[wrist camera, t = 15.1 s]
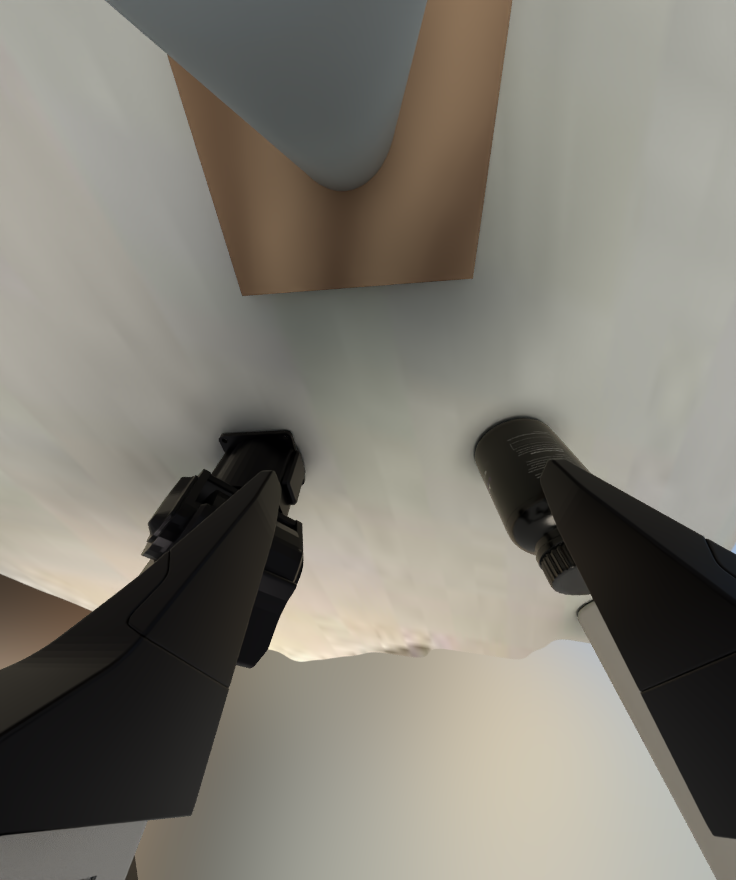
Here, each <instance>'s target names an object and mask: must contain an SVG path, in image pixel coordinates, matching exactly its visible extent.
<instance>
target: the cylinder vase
mask: <svg viewBox="0 0 736 880" xmlns="http://www.w3.org/2000/svg"><path fill="white" fill-rule="evenodd" d="M578 620H579V622H580V624H581V626H582V628H583V630H584V632H585V633H586V635H587V637H588V639H589V641H590V643H591V645H592V647H593V648H594V650H595V652H596V654H597V656H598V658H599V660H600V662H601V663H602V665H603V667H604V669H605V671H606V673H607V674H608V677H609V678H610V680H611V682H612V684H613V686H614V688H615V690H616V692H617V693H618V695H619V697H620V699H621V701H622V703H623V705H624V707H625V708H626V710H627V712H628V714H629V716H630V718H631V720H632V722H633V723H634V725H635V727H636V729H637V731H638V733H639V735H640V737H641V738H642V740H643V742H644V744H645V746H646V748H647V750H648V751H649V753H650V755H651V757H652V759H653V761H654V763H655V765H656V767H657V768H658V770H659V772H660V774H661V776H662V778H663V779H664V782H665V783H666V785H667V787H668V789H669V791H670V793H671V795H672V796H673V798H674V800H675V802H676V804H677V806H678V808H679V810H680V812H681V813H682V815H683V817H684V819H685V821H686V823H687V825H688V827H689V828H690V830H691V832H692V834H693V836H694V838H695V840H696V841H697V843H698V845H699V847H700V849H701V851H702V853H703V855H704V857H705V858H706V860H707V862H708V864H709V866H710V868H711V870H712V872H713V873H714V875H715V877H716V879H717V880H736V839H729V838H722V837H715V836H713V835H712V833H711V831H710V830H709V828H708V826H707V825H706V823H705V821H704V819H703V817H702V815H701V813H700V811H699V809H698V807H697V805H696V803H695V801H694V799H693V797H692V795H691V793H690V791H689V789H688V787H687V785H686V783H685V781H684V779H683V777H682V775H681V773H680V771H679V769H678V767H677V765H676V763H675V761H674V759H673V757H672V755H671V753H670V752H669V750H668V748H667V746H666V744H665V742H664V740H663V738H662V736H661V734H660V732H659V730H658V728H657V726H656V724H655V722H654V720H653V718H652V716H651V714H650V712H649V710H648V708H647V706H646V704H645V702H644V700H643V698H642V696H641V694H640V692H641V691H639V689H638V687H637V685H636V683H635V681H634V679H633V678H632V676H631V674H630V672H629V670H628V668H627V666H626V664H625V662H624V660H623V658H622V656H621V654H620V652H619V650H618V648H617V646H616V644H615V642H614V640H613V638H612V636H611V634H610V632H609V630H608V628H607V626H606V624H605V622H604V620H603V618H602V616H601V614H600V612H599V610H598V608H597V606H596V604H595V602H594V601H593V602H591V603H589V604H587V605H585V606H584V607H583V608H582V609H581V610H580V611H579V613H578Z"/></svg>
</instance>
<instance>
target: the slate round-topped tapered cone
mask: <svg viewBox="0 0 736 880" xmlns="http://www.w3.org/2000/svg"><path fill="white" fill-rule="evenodd" d="M105 1H106V2H108V3H109V4H110V5H111V6H112V7H113V8H114V9H116V10H117V11H118V12H119V13H120V14H121V15H123V16H124V17H125V18H126V19H127V20H128V21H130V22H131V23H132V24H133V25H134V26H135V27H137V28H138V29H139V30H140V31H141V32H142V33H143V34H145V35H146V36H147V37H148V38H149V39H150V40H152V41H153V42H154V43H155V44H156V45H157V46H159V47H160V48H161V49H162V50H163V51H164V52H166V53H167V54H168V55H169V56H170V57H171V58H173V59H174V60H175V61H176V62H177V63H178V64H179V65H181V66H182V67H183V68H184V69H185V70H186V71H188V72H189V73H190V74H191V75H192V76H193V77H195V78H196V79H197V80H198V81H199V82H200V83H202V84H203V85H204V86H205V87H206V88H207V89H209V90H210V91H211V92H212V93H213V94H214V95H215V96H217V97H218V98H219V99H220V100H221V101H222V102H224V103H225V104H226V105H227V106H228V107H229V108H231V109H232V110H233V111H234V112H235V113H236V114H238V115H239V116H240V117H241V118H242V119H243V120H244V121H246V122H247V123H248V124H249V125H250V126H251V127H253V128H254V129H255V130H256V131H257V132H258V133H260V134H261V135H262V136H263V137H264V138H265V139H267V140H268V141H269V142H270V143H271V144H272V145H274V146H275V147H276V148H277V149H278V150H279V151H280V152H282V153H283V154H284V155H285V156H286V157H287V158H289V159H290V160H291V161H292V162H293V163H294V164H296V165H297V166H298V167H299V168H300V169H301V170H303V171H304V172H305V173H306V174H307V175H308V176H310V177H311V178H312V179H313V180H314V181H316V182H317V183H318V184H320V185H322V186H324V187H326V188H328V189H331V190H336V191H348V190H353V189H356V188H358V187H360V186H362V185H364V184H365V183H367V182H368V181H369V180H370V179H371V178H372V177H373V176H374V175H375V174H376V173H377V172H378V170H379V169H380V168H381V166H382V164H383V162H384V161H385V159H386V157H387V154H388V152H389V150H390V147H391V143H392V140H393V136H394V132H395V128H396V124H397V120H398V116H399V112H400V108H401V104H402V100H403V96H404V92H405V88H406V84H407V80H408V76H409V72H410V68H411V64H412V60H413V56H414V52H415V48H416V44H417V40H418V35H419V31H420V27H421V23H422V19H423V15H424V11H425V7H426V3H427V0H105Z"/></svg>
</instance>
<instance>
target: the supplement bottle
mask: <svg viewBox="0 0 736 880" xmlns="http://www.w3.org/2000/svg"><path fill="white" fill-rule="evenodd" d="M560 458H562V459H566V460H568V461H569V462H571V463H573V464H575V465H576V466H578V467H580V468H582V469H584V470H585V471H587V472H589V470H588V469H587V468H586V467H585V466H584V465H583V464H582V463H581V462H580V461H579V459H578V458H577V457H576V456H575V455H574V454H573V453H572V452H571V451H570V449H569V448H568V447H567V446H566V445H565V444H564V443H563V442H562V441H561V439H560V438H559V437H558V436H557V435H556V434H555V433H554V432H553V431H552V430H551V429H550V428H549V427H548V426H547V425H546V424H544V423H542V422H540V421H538V420H534V419H527V418H521V419H513V420H509V421H506V422H504V423H501V424H499V425H497V426H495V427H494V428H492V429H491V430H489V431H488V432H487V433H486V434H485V435H484V436H483V437H482V438H481V440H480V441H479V443H478V445H477V447H476V450H475V461H476V464H477V467H478V469H479V472H480V474H481V476H482V478H483V480H484V483H485V485H486V487H487V489H488V491H489V494H490V496H491V498H492V500H493V502H494V505H495V507H496V509H497V511H498V513H499V516H500V518H501V520H502V522H503V524H504V527H505V529H506V531H507V533H508V535H509V537H510V538H511V540H512V541H513V542H514V544H515V545H517V546H518V547H519V548H520V549H522V550H524V551H525V552H528V553H530V554H533V555H536V560H537V562H538V564H539V566H540V568H541V569H542V570H543V572H544V574H545V576H546V578H547V580H548V582H549V583H550V585H551V587H552V588H553V589H554V590H555V591H557V592H559V593H563V594H565V595H588V594H590V592H589V590H588V588H587V586H586V584H585V582H584V580H583V578H582V576H581V574H580V572H579V570H578V568H577V566H576V564H575V562H574V560H573V558H572V556H571V554H570V552H569V550H568V548H567V546H566V544H565V542H564V540H563V538H562V536H561V534H560V532H559V530H558V528H557V526H556V524H555V521H554V519H553V516H552V513H551V510H550V508H549V505H548V502H547V500H546V497H545V494H544V492H543V489H542V486H541V483H540V477H541V475H542V472H543V470H544V468H545V466H546V463H547V461H548V460H550V459H560ZM589 473H590V472H589Z"/></svg>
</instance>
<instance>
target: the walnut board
mask: <svg viewBox="0 0 736 880" xmlns="http://www.w3.org/2000/svg"><path fill="white" fill-rule="evenodd" d="M511 6H512V0H427V3H426V7H425V11H424V15H423V19H422V23H421V27H420V31H419V35H418V40H417V44H416V48H415V52H414V56H413V60H412V64H411V68H410V72H409V76H408V80H407V84H406V88H405V92H404V96H403V100H402V104H401V108H400V112H399V116H398V120H397V124H396V128H395V132H394V136H393V140H392V143H391V147H390V150H389V152H388V154H387V157H386V159H385V161H384V162H383V164H382V166H381V168H380V169H379V170H378V172H377V173H376V174H375V175H374V176H373V177H372V178H371V179H370V180H369V181H368V182H367V183H365V184H364V185H362V186H360V187H358V188H356V189H353V190H348V191H336V190H331V189H328V188H326V187H324V186H322V185H320V184H318V183H317V182H316V181H314V180H313V179H312V178H311V177H310V176H308V175H307V174H306V173H305V172H304V171H303V170H301V169H300V168H299V167H298V166H297V165H296V164H294V163H293V162H292V161H291V160H290V159H289V158H287V157H286V156H285V155H284V154H283V153H282V152H280V151H279V150H278V149H277V148H276V147H275V146H274V145H272V144H271V143H270V142H269V141H268V140H267V139H265V138H264V137H263V136H262V135H261V134H260V133H258V132H257V131H256V130H255V129H254V128H253V127H251V126H250V125H249V124H248V123H247V122H246V121H244V120H243V119H242V118H241V117H240V116H239V115H238V114H236V113H235V112H234V111H233V110H232V109H231V108H229V107H228V106H227V105H226V104H225V103H224V102H222V101H221V100H220V99H219V98H218V97H217V96H215V95H214V94H213V93H212V92H211V91H210V90H209V89H207V88H206V87H205V86H204V85H203V84H202V83H200V82H199V81H198V80H197V79H196V78H195V77H193V76H192V75H191V74H190V73H189V72H188V71H186V70H185V69H184V68H183V67H182V66H181V65H179V64H178V63H177V62H176V61H175V60H174V59H173V58H171V57H170V56H169V55H168V54H167V55H168V59H169V62H170V65H171V68H172V71H173V75H174V78H175V81H176V84H177V87H178V91H179V94H180V97H181V100H182V104H183V107H184V110H185V113H186V116H187V120H188V123H189V126H190V129H191V132H192V136H193V139H194V142H195V145H196V149H197V152H198V155H199V158H200V161H201V165H202V168H203V171H204V174H205V177H206V181H207V184H208V187H209V190H210V194H211V197H212V200H213V203H214V206H215V210H216V213H217V216H218V219H219V223H220V226H221V229H222V232H223V235H224V239H225V242H226V245H227V248H228V251H229V255H230V258H231V261H232V264H233V268H234V271H235V274H236V277H237V280H238V284H239V287H240V290H241V293H242V296H248V295H262V294H275V293H288V292H301V291H314V290H327V289H340V288H354V287H367V286H380V285H393V284H406V283H419V282H432V281H446V280H459V279H472V278H473V273H474V266H475V259H476V252H477V245H478V238H479V231H480V224H481V217H482V210H483V203H484V196H485V189H486V182H487V175H488V168H489V161H490V154H491V147H492V140H493V133H494V126H495V119H496V112H497V105H498V97H499V90H500V83H501V76H502V69H503V62H504V55H505V48H506V41H507V34H508V27H509V20H510V13H511Z"/></svg>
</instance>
